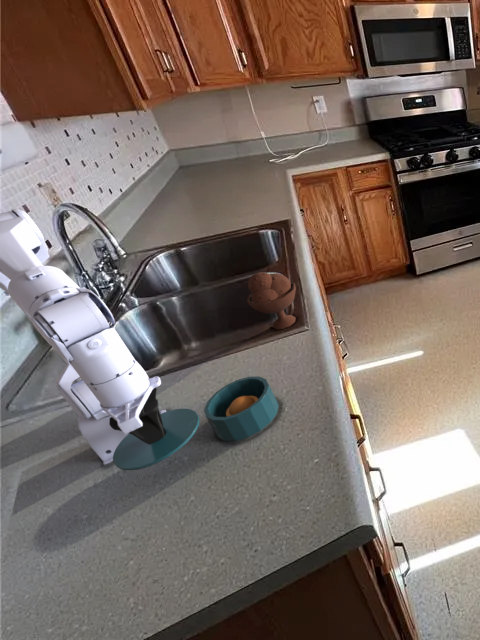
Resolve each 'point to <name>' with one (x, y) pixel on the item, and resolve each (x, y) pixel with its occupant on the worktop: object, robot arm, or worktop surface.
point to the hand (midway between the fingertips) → (155, 434)
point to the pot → (247, 419)
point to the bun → (240, 404)
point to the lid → (176, 435)
